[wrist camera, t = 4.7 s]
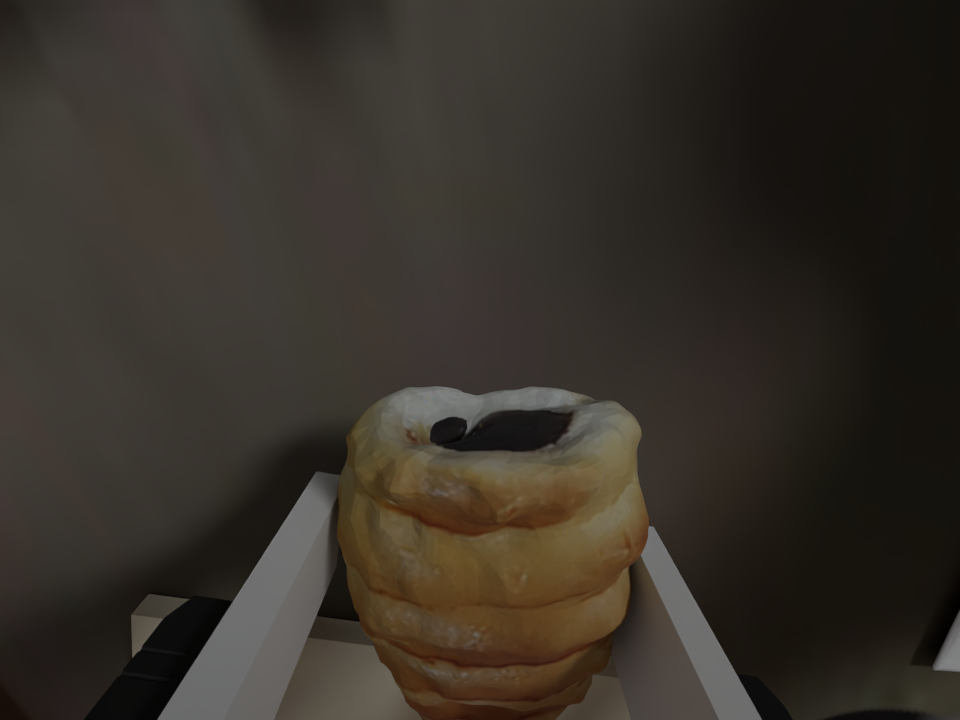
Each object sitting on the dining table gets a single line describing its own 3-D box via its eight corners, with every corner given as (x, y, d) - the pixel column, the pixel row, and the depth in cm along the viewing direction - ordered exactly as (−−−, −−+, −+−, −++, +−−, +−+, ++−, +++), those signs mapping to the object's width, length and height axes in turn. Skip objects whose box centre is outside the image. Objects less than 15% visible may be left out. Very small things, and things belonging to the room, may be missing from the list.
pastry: (602, 674, 14) (645, 840, 10) (374, 674, 14) (335, 839, 10) (628, 372, 11) (699, 451, 7) (342, 375, 11) (273, 454, 7)
